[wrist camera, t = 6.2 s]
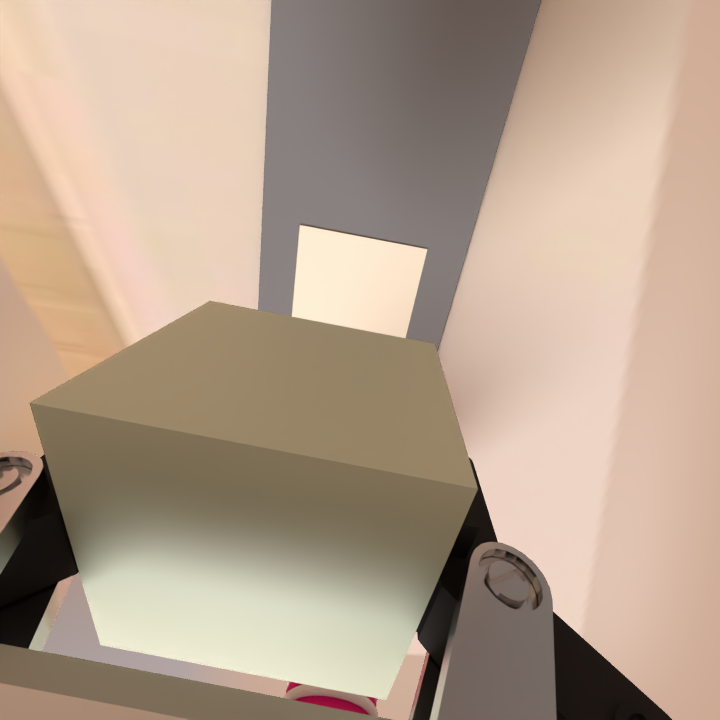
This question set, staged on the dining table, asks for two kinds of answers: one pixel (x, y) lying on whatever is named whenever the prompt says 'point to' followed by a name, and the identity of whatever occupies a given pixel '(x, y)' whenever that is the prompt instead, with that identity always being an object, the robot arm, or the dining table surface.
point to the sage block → (261, 494)
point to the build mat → (381, 154)
